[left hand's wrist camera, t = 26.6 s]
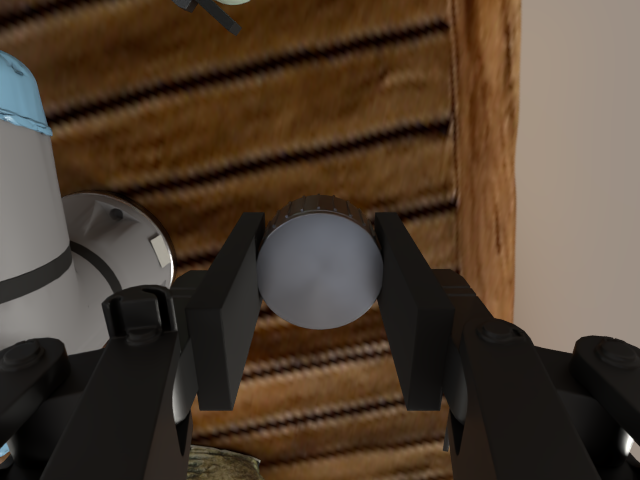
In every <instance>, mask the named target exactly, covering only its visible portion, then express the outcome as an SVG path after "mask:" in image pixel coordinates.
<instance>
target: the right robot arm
mask: <svg viewBox="0 0 640 480" xmlns="http://www.w3.org/2000/svg"><path fill="white" fill-rule="evenodd" d="M172 1H173V2H174V3H175V4H176V5H177V6H179V7H180V8H182V9H184V10H186V11H188V12H191V13H192V12H193V10H194V9H195V7H196V6H197V4H198V3H199V4H200V5H201V6H202V7H203V8H204V9H205V10H206V11H207V12H209V13H210V14H211V15H212V16H213V17H214V18H215V19H216V20H217V21H218V22H219V23H221V24H222V25H223V26H224V27H225V28H226V29H227V30H228V31H229V32H231V33H233V34H234V35H236V36H237V34H238V33H239V31H240V30H241V27H240V26H239V25H238V24H237V23H236V22H235V21H234V20H233V19H232V18H231V17H230V16H229V15H227V14H226V13H225V12H224V11H223V10H222V9H221V8H220V7H219V6H218V5H217V4H216V3H215V2H213V1H212V0H172Z"/></svg>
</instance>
